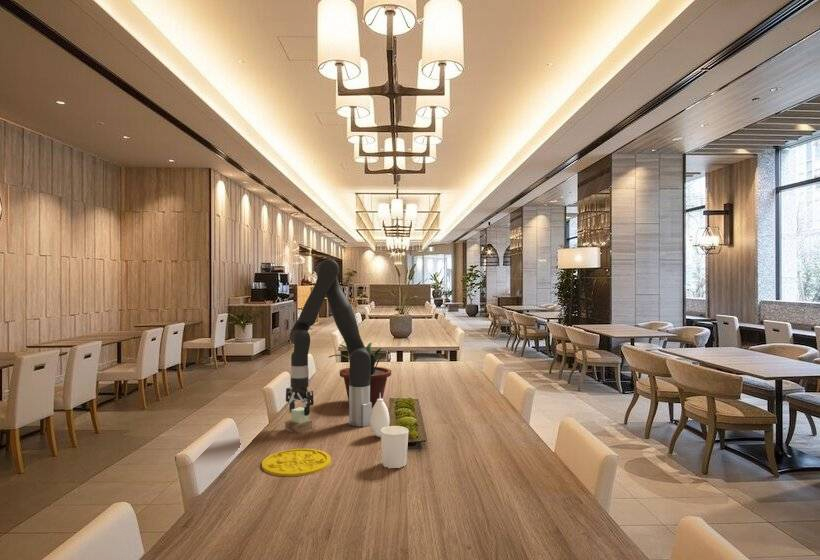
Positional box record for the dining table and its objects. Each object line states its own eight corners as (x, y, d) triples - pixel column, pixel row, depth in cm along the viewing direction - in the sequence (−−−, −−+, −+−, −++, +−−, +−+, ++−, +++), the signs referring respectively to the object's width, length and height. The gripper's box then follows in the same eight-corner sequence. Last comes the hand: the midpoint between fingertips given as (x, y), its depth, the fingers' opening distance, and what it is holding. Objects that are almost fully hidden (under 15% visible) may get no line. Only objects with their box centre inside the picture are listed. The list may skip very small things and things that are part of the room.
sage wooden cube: (308, 420, 207) (308, 408, 207) (299, 423, 203) (299, 411, 203) (299, 418, 210) (299, 407, 210) (291, 421, 206) (291, 409, 206)
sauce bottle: (386, 440, 193) (387, 395, 193) (367, 438, 195) (368, 394, 195) (391, 434, 201) (391, 391, 201) (373, 433, 203) (373, 390, 203)
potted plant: (388, 414, 231) (389, 351, 231) (321, 413, 232) (322, 350, 232) (392, 396, 266) (393, 342, 266) (334, 396, 266) (334, 341, 266)
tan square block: (312, 429, 208) (312, 420, 208) (298, 434, 201) (299, 424, 201) (298, 426, 212) (298, 417, 212) (285, 431, 205) (285, 421, 205)
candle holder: (374, 466, 166) (375, 431, 166) (389, 457, 175) (389, 424, 175) (399, 472, 162) (400, 436, 162) (413, 462, 170) (413, 428, 170)
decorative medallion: (260, 480, 155) (260, 474, 155) (262, 455, 177) (262, 449, 177) (334, 473, 161) (334, 467, 161) (327, 449, 184) (327, 444, 184)
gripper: (318, 376, 206) (317, 414, 206) (294, 372, 214) (294, 409, 214) (305, 379, 199) (305, 418, 199) (281, 375, 207) (281, 413, 207)
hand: (299, 413), depth 207 cm, fingers open, 8 cm apart
